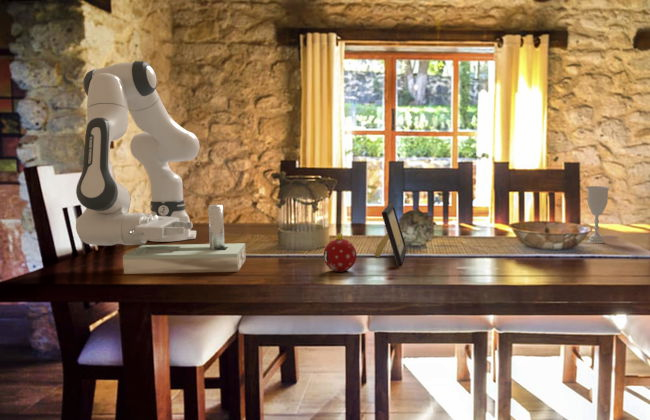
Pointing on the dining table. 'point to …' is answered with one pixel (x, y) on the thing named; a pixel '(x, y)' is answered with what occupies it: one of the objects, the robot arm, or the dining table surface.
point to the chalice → (597, 208)
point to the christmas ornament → (340, 254)
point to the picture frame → (392, 235)
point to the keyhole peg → (216, 227)
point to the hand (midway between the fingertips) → (188, 227)
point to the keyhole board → (184, 259)
